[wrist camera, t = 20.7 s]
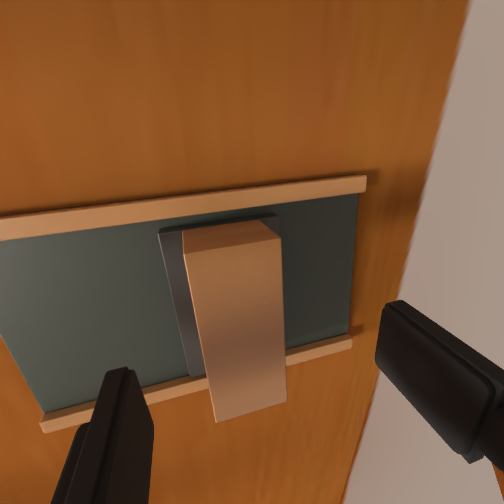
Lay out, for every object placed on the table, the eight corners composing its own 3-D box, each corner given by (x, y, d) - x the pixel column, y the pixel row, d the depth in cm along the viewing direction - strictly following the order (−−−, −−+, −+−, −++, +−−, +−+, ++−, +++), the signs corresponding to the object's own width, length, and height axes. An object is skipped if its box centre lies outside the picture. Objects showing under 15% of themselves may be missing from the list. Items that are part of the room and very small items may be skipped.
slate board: (-54, 221, 14) (-75, 227, 13) (356, 173, 20) (367, 175, 19) (52, 418, 20) (44, 434, 19) (344, 339, 26) (352, 348, 25)
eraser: (158, 228, 17) (150, 259, 12) (273, 212, 19) (308, 233, 14) (189, 366, 21) (192, 431, 16) (279, 343, 23) (307, 395, 18)
